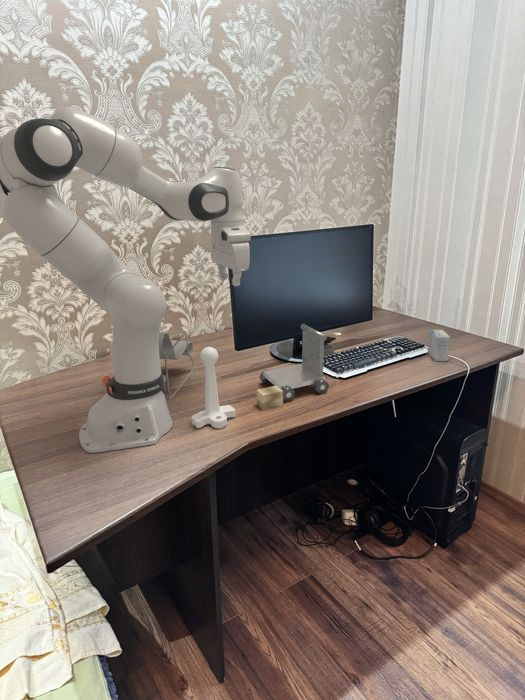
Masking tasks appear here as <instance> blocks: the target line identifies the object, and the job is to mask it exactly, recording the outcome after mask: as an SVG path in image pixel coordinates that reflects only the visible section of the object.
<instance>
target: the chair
mask: <svg viewBox="0 0 525 700" xmlns="http://www.w3.org/2000/svg"><path fill="white" fill-rule="evenodd" d="M184 336H185V339H186V340H181V339H182V338H183V337H184ZM193 350H194V344H193V342H192V341H191V340H189V335H188V333H187V332H186V331H184V332H183V333H182V334H181V336H180V337H179V338H178V339H177V340H171V337H170V335H169V333H168V332H161V331H160V333H159V355H160V360H164V369H165V374H163V376H164V381H165V382H166V385H167V386H166V387H167V394H168V399H169V400H173V399H174V397H175V396H176V394H177V393H178V392H179V390H180V389H181V388H182V387H183V385H184V384H185V383H184V382H186V381H187V380H188V379H189V378H190V377H191V375H192V373H194V371H195V362H194V361H195V360H194V359H193V357H192V354H193ZM182 356H187V357H189V358H190V361H191V362H192V364H191V365H192V366H191V371H190V372H189V373H188V375H187V376H186V377H185V378H184V379H183V381H182V382H181V384H180V385H179V386H178V388H177V389H175V391H174V393H172V395H171V392H170V391H171V390H170V383H169V373H168V361H167V360H174V361H175V360H176V361H177V360H180V359H181V357H182ZM190 374H191V375H190ZM187 378H188V379H187ZM183 383H184V384H183ZM181 386H182V387H181ZM180 387H181V388H180ZM177 391H178V392H177ZM176 392H177V393H176ZM174 395H175V396H174Z"/></svg>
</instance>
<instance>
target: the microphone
mask: <svg viewBox="0 0 525 700" xmlns="http://www.w3.org/2000/svg"><path fill="white" fill-rule="evenodd" d="M336 339H337V338H336V337H335V336H327V339H326V340H325V341H324V345H326V344H328V343H331V342H332V341H335V340H336Z"/></svg>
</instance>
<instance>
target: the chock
mask: <svg viewBox="0 0 525 700" xmlns="http://www.w3.org/2000/svg"><path fill="white" fill-rule="evenodd" d="M256 405H257V406H258V407H259V408H260V409H261V410H262V411H266V410H270V409H271V410H272V409H275V408H279V407H284V400H283V391H282V390H281V389H280V388H279V387H278V386H275V385H272V386H268V387H263V388H258V389H256Z"/></svg>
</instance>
